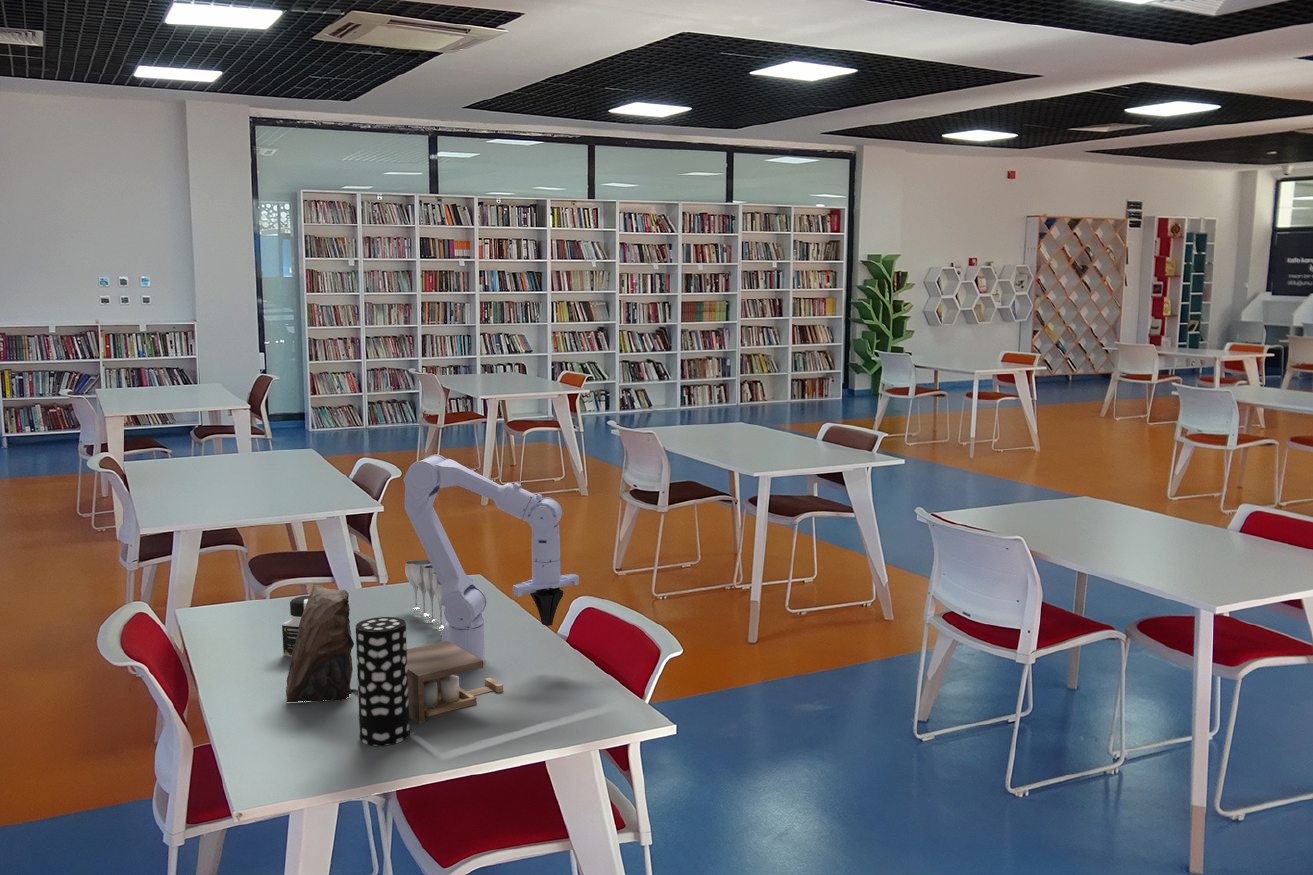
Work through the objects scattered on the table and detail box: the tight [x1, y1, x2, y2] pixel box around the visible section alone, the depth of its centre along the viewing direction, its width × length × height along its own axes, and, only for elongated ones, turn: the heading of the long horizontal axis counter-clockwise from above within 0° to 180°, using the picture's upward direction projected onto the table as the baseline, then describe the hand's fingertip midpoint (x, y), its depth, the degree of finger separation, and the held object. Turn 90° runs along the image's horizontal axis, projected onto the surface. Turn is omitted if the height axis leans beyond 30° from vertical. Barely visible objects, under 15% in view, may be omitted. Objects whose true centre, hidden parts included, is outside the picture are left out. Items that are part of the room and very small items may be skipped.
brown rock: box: [285, 583, 355, 702], centre depth 202 cm, size 13×13×20 cm
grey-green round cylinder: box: [423, 681, 438, 709], centre depth 193 cm, size 3×3×4 cm
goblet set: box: [404, 559, 445, 636], centre depth 247 cm, size 28×6×13 cm, turn 32°
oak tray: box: [424, 677, 504, 717], centre depth 197 cm, size 10×17×2 cm, turn 128°
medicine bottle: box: [281, 595, 309, 657], centre depth 225 cm, size 7×7×12 cm
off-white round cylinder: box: [440, 674, 460, 702], centre depth 196 cm, size 3×3×4 cm
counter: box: [407, 640, 484, 725], centre depth 194 cm, size 14×13×10 cm
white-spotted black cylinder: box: [355, 616, 410, 747], centre depth 181 cm, size 8×8×20 cm
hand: (547, 624), depth 214 cm, fingers closed
